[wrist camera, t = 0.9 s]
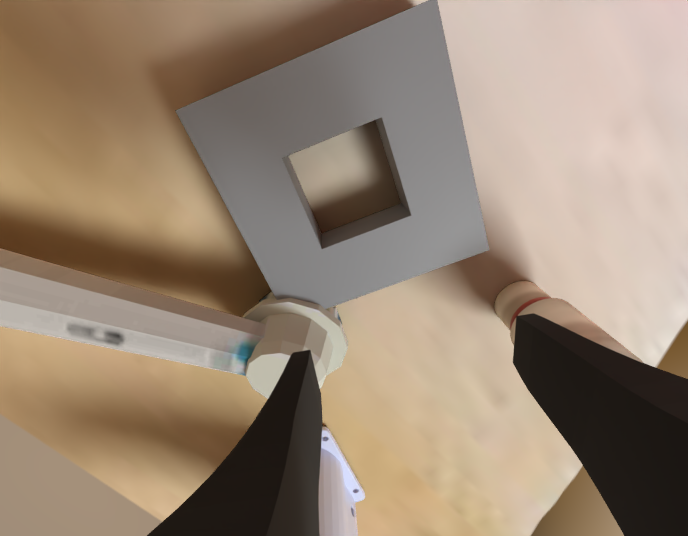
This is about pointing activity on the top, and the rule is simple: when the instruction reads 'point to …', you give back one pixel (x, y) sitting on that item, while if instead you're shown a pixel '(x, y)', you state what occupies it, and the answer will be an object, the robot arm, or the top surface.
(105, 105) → the top surface
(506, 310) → the peg
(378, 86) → the board
